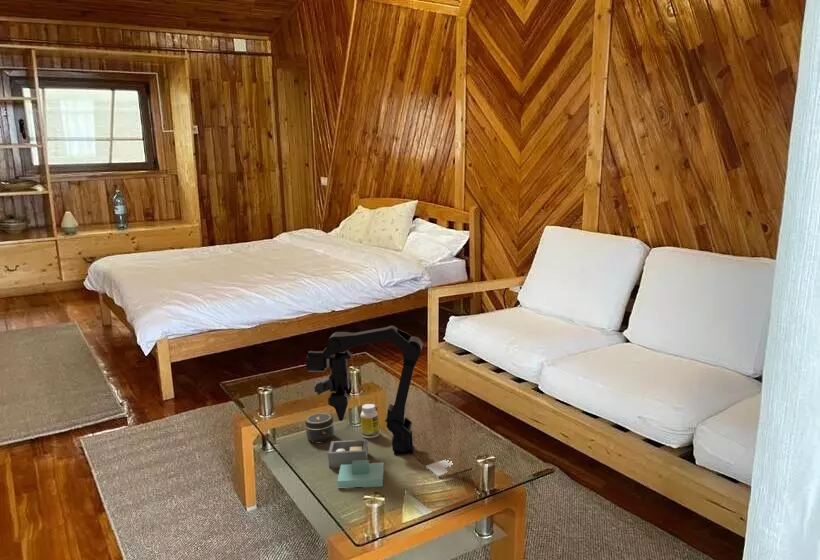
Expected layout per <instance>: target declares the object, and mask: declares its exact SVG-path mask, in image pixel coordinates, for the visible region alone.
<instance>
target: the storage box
mask: <svg viewBox="0 0 820 560" xmlns="http://www.w3.org/2000/svg"><path fill="white" fill-rule="evenodd" d="M327 456H328V457H327V458H328V467H329V469H330V468H331V469H336V468H338V469H339V468H340V466H341V465H347V464H352V461H355V460H369V459H368V458H369V446H368V438H364V439H349V440H335V441H334V440H332V441H330V445H329V449H328V453H327Z"/></svg>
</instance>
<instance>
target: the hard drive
mask: <svg viewBox="0 0 820 560" xmlns="http://www.w3.org/2000/svg"><path fill="white" fill-rule="evenodd" d="M448 462H449V460H447V461H446V459H443V460H440V461H436V462H432V463H430V464H426V465H425V469H426V470H428V469H429V470H430V471H432V472H433V473H434V474H435V475H436V476H437V477H439V476H441V475H444V474H445V473H447V472H448V471H447V469H445V468H447V467H448V466H449V467H451V465H453V463H452V461H450V462H449V463H448ZM429 470H428V471H429ZM430 471H429V472H430ZM434 474H433V475H434ZM435 475H434V476H435ZM436 476H435V477H436ZM437 477H436V478H437Z"/></svg>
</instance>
